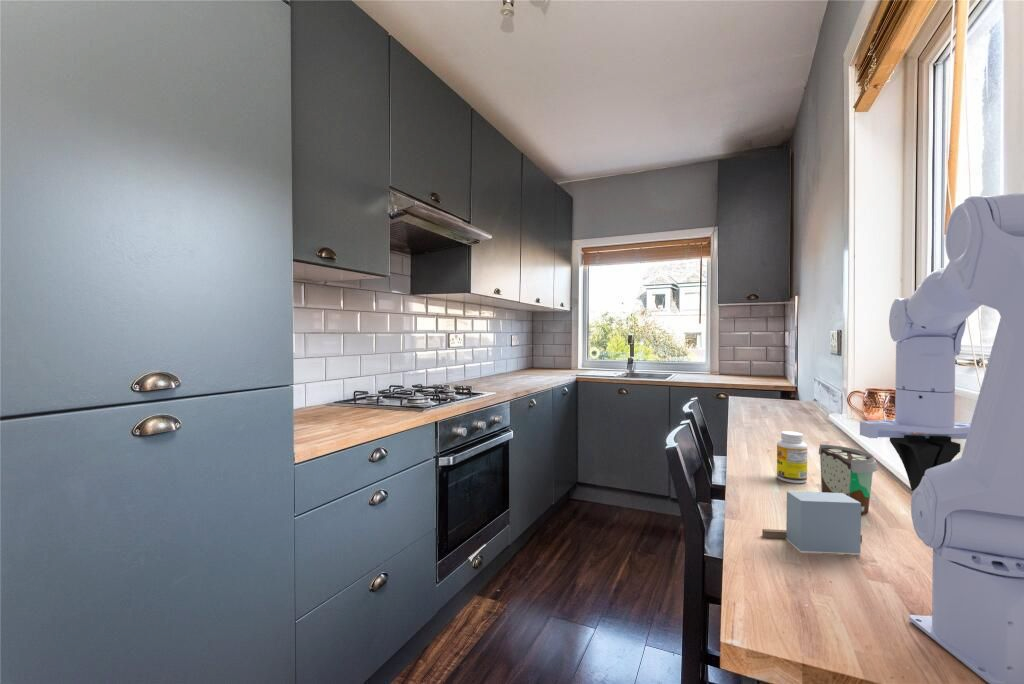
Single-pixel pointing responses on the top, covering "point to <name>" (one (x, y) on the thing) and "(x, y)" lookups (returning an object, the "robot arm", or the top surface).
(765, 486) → the top surface
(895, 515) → the top surface
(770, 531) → the batten
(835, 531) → the block
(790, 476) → the supplement bottle
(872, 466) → the food container
